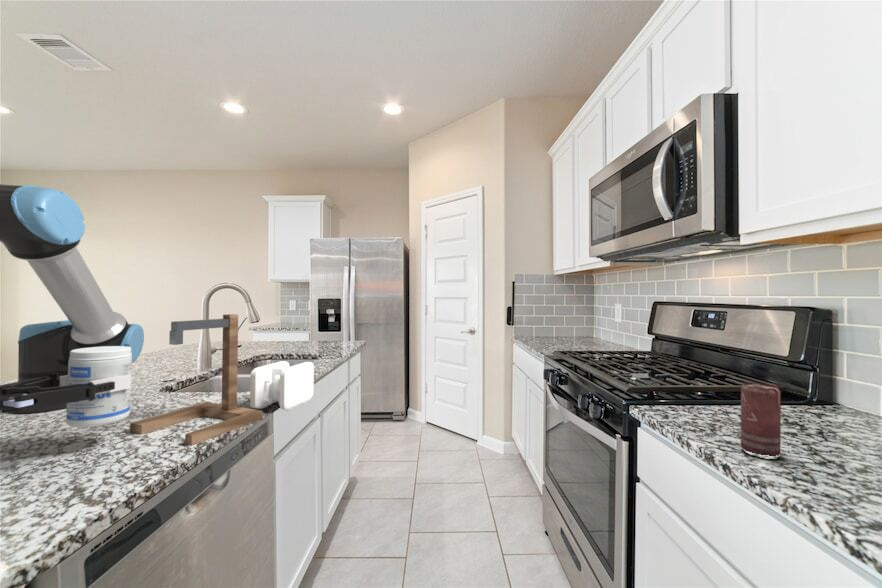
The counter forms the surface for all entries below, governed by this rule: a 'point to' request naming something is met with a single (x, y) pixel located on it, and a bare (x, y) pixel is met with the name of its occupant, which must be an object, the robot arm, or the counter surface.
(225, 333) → the wooden hook stand
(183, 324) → the hook arm
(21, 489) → the counter surface
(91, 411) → the supplement tub
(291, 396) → the cable organizer
